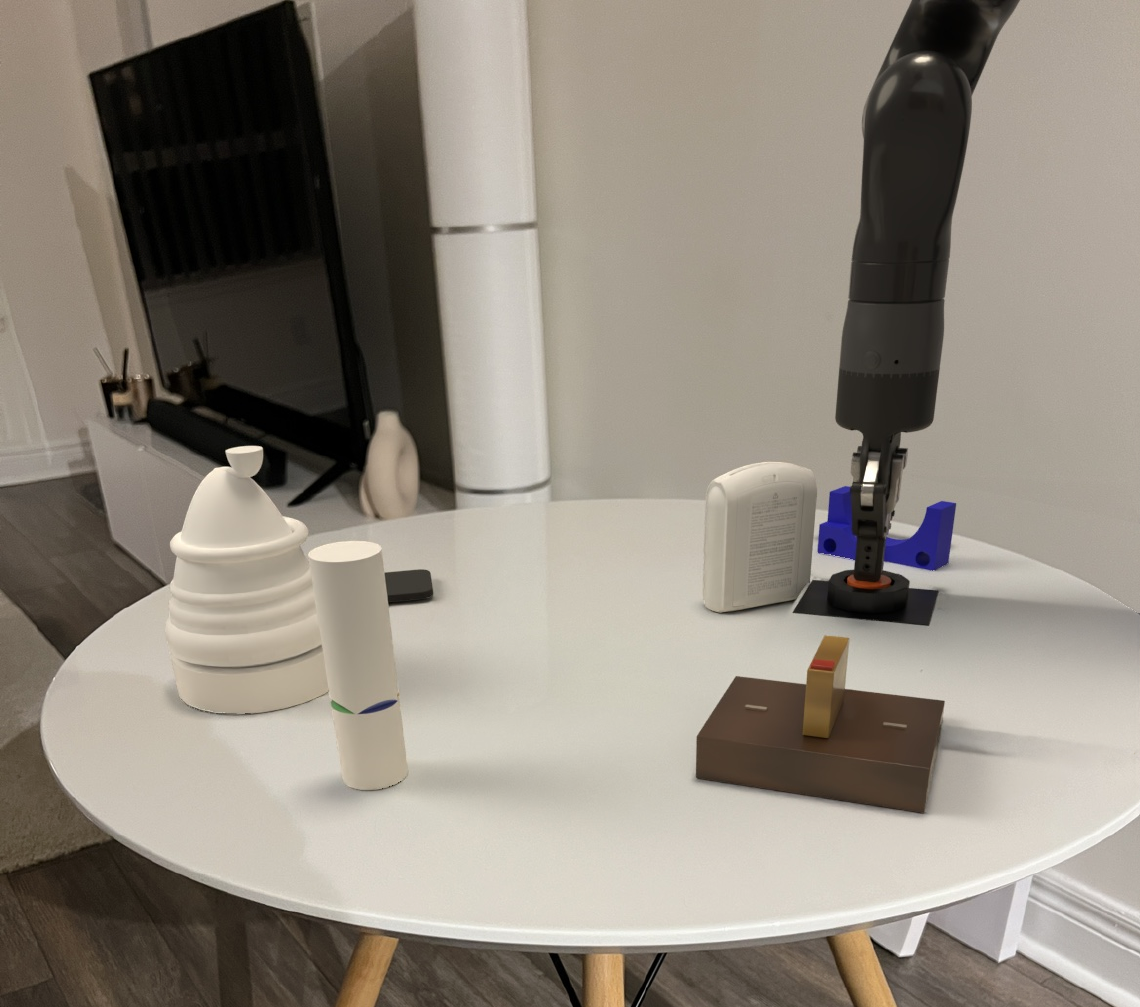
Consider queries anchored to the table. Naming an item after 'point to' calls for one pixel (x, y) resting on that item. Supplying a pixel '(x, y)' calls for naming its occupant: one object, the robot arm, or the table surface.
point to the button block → (869, 600)
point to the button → (869, 583)
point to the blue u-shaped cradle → (918, 551)
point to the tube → (359, 662)
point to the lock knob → (825, 686)
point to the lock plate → (823, 744)
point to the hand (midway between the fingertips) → (867, 578)
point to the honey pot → (242, 599)
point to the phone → (408, 585)
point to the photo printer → (758, 535)
